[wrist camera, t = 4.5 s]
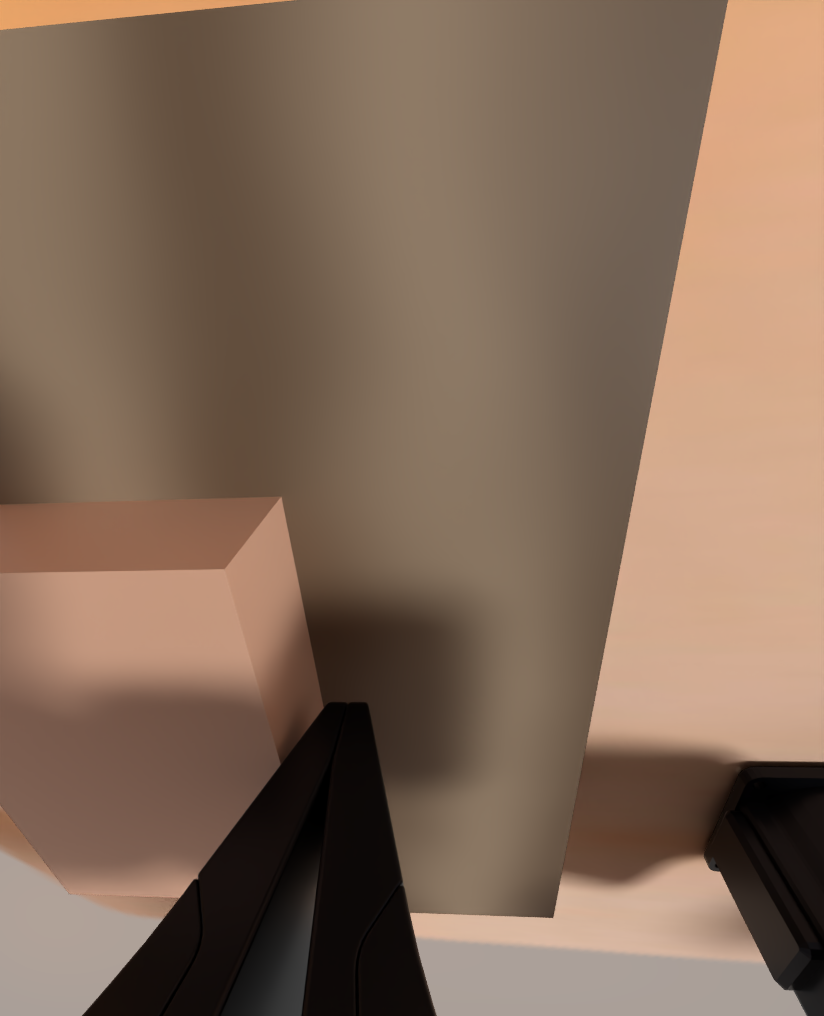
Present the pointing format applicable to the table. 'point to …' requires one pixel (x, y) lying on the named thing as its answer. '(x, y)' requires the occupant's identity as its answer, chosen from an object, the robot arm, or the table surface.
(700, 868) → the table surface
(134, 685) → the salmon brown block
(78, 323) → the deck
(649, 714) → the table surface
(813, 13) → the table surface
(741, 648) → the table surface
